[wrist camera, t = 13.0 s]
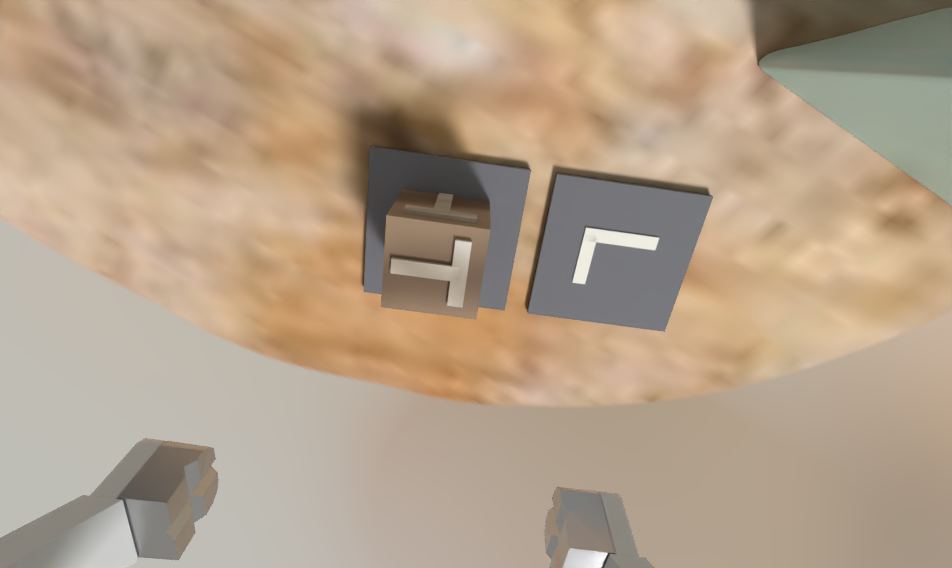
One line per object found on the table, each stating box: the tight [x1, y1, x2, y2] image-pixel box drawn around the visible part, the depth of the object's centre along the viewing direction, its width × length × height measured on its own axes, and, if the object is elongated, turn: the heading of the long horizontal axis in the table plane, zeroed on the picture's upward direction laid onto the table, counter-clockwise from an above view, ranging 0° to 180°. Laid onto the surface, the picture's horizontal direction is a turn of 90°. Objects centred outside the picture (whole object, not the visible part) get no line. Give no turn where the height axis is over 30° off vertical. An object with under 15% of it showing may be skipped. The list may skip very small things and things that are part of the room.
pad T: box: [364, 146, 531, 310], centre depth 29 cm, size 9×9×1 cm
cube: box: [381, 189, 490, 319], centre depth 26 cm, size 5×5×5 cm
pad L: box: [527, 173, 713, 331], centre depth 29 cm, size 9×9×1 cm
